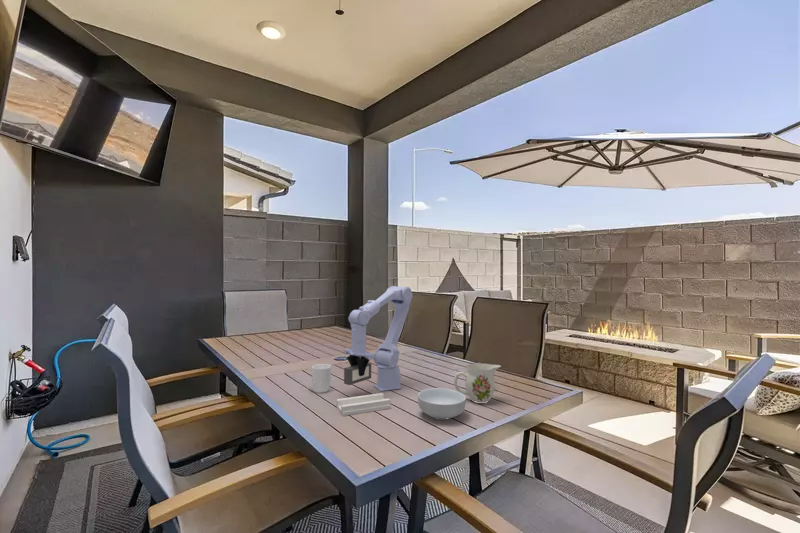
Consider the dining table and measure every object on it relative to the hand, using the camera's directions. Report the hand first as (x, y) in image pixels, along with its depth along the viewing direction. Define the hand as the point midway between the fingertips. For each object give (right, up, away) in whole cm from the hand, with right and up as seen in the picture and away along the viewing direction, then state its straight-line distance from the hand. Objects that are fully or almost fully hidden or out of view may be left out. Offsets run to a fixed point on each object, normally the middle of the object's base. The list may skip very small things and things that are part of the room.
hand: (358, 374), depth 150 cm
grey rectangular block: (0, -2, 0) cm, 2 cm away
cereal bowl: (+31, -9, -18) cm, 37 cm away
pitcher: (+46, -9, -3) cm, 48 cm away
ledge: (+3, -9, -12) cm, 15 cm away
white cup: (-16, -9, +7) cm, 20 cm away
